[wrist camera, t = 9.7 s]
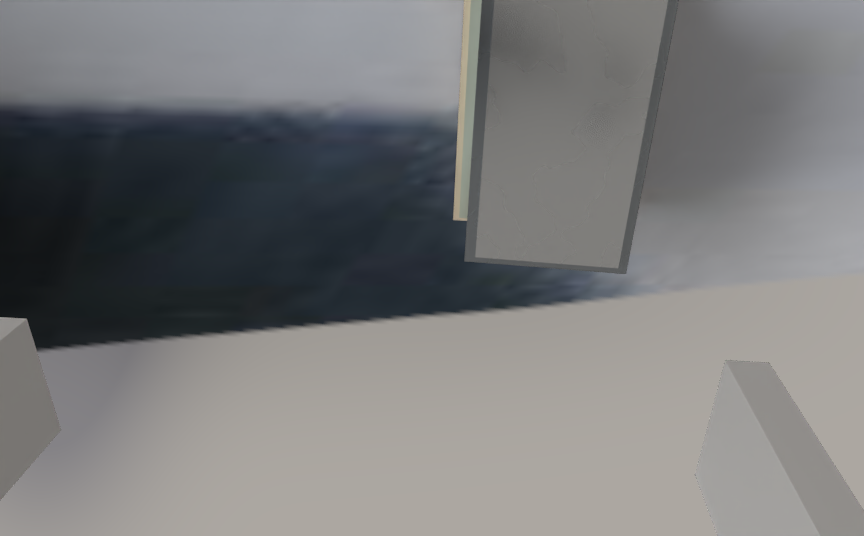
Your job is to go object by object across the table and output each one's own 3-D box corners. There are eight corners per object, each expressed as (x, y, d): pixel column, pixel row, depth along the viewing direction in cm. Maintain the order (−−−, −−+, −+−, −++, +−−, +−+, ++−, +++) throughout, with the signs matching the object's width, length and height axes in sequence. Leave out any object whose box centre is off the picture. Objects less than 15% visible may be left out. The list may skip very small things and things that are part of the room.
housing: (489, -38, 27) (483, -28, 20) (640, -31, 26) (685, -19, 20) (473, 195, 31) (463, 265, 25) (602, 205, 31) (627, 278, 24)
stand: (457, 196, 35) (452, 223, 32) (472, -80, 29) (467, -82, 26) (610, 206, 34) (620, 234, 31) (656, -74, 28) (675, -75, 25)
